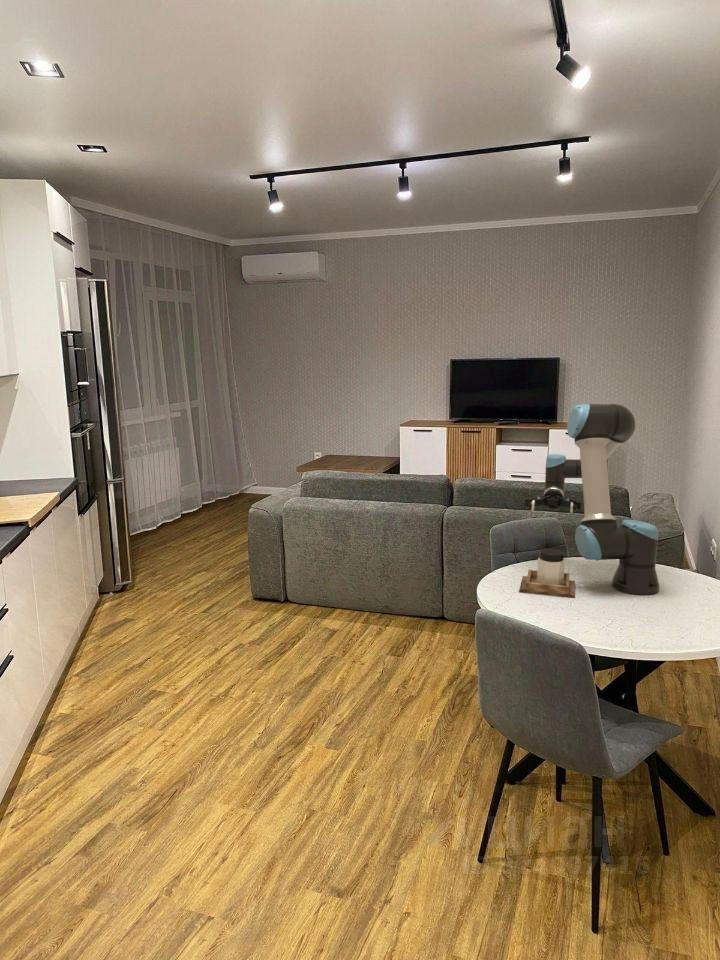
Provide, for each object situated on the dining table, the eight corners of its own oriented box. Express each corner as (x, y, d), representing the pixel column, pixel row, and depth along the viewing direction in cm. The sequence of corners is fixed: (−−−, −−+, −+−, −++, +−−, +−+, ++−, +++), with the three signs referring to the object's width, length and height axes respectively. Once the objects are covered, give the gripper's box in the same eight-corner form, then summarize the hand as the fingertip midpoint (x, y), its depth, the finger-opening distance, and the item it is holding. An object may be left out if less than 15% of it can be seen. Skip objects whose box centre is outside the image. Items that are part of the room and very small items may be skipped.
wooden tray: (574, 583, 251) (575, 574, 250) (574, 597, 237) (575, 587, 236) (522, 578, 256) (522, 569, 255) (519, 592, 242) (519, 582, 241)
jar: (556, 591, 240) (558, 556, 238) (533, 585, 245) (535, 552, 243) (566, 584, 247) (568, 550, 245) (544, 579, 252) (545, 546, 250)
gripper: (586, 509, 275) (587, 520, 255) (520, 505, 282) (516, 516, 262) (587, 490, 274) (588, 500, 253) (521, 486, 280) (517, 496, 260)
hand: (552, 508), depth 257 cm, fingers open, 13 cm apart
